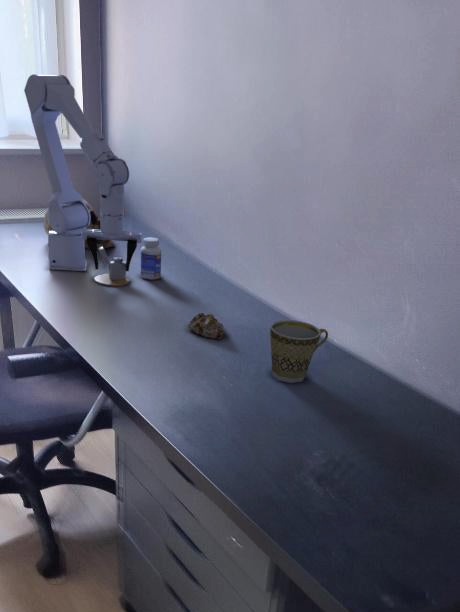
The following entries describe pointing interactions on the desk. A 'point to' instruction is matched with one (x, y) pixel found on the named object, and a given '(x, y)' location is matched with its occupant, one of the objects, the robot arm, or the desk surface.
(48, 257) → the robot arm
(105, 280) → the coaster
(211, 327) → the mineral rock
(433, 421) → the desk surface
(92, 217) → the brown skull
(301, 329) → the ceramic cup
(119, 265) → the lighter
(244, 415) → the desk surface
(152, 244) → the pill bottle
